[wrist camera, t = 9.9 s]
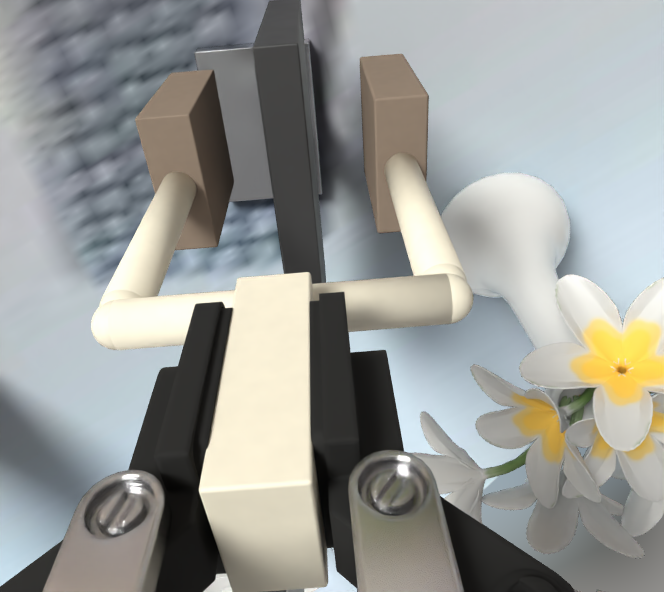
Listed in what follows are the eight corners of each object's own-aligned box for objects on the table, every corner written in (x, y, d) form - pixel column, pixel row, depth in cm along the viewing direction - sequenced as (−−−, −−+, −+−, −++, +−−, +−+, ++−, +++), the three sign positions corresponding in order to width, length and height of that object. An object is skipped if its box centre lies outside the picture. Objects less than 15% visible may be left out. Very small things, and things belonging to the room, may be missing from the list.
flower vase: (343, 263, 45) (376, 571, 24) (521, 68, 37) (797, 283, 16) (458, 339, 49) (567, 648, 29) (638, 182, 42) (962, 456, 21)
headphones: (196, 185, 26) (18, 644, 10) (170, 72, 23) (-137, 462, 7) (402, 168, 26) (560, 604, 10) (403, 53, 23) (624, 403, 7)
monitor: (232, 232, 43) (197, 392, 29) (186, -7, 33) (101, 59, 19) (325, 224, 42) (335, 382, 29) (304, -17, 33) (304, 42, 19)
